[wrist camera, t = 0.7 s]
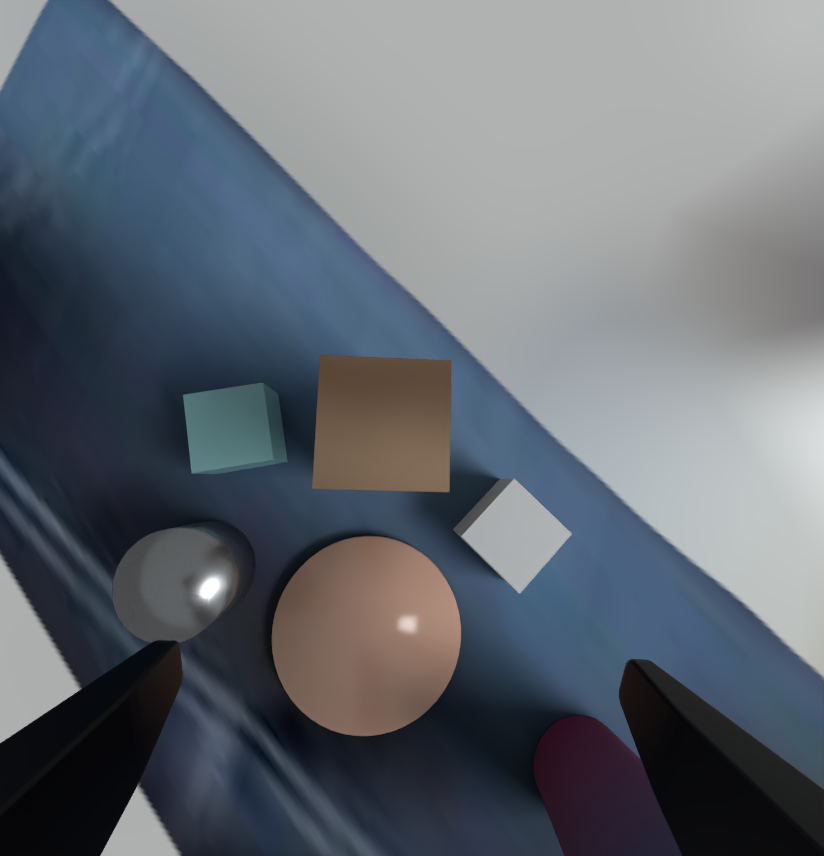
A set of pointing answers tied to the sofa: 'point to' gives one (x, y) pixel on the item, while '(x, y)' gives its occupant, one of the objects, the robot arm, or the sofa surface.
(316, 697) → the coaster
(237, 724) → the sofa surface
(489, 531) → the grey block
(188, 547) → the metal bowl
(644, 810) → the cup
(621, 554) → the sofa surface
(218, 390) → the teal block
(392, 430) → the walnut block
